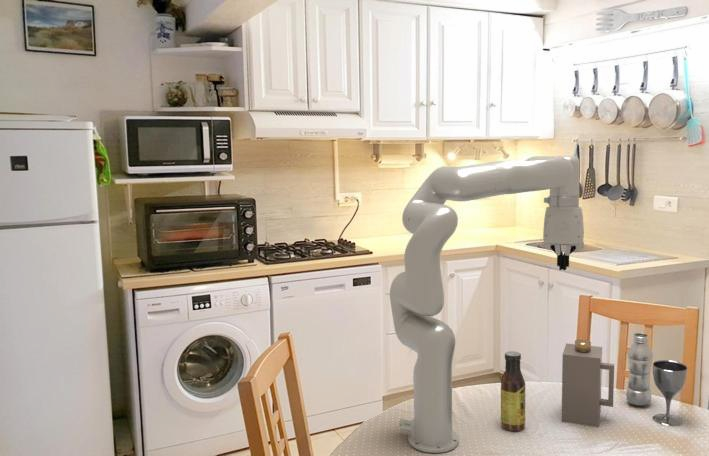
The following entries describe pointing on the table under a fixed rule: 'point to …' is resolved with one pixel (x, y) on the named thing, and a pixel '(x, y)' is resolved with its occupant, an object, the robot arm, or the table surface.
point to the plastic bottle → (639, 371)
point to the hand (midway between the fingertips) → (563, 269)
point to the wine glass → (669, 387)
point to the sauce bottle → (512, 394)
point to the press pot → (584, 385)
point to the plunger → (582, 345)
